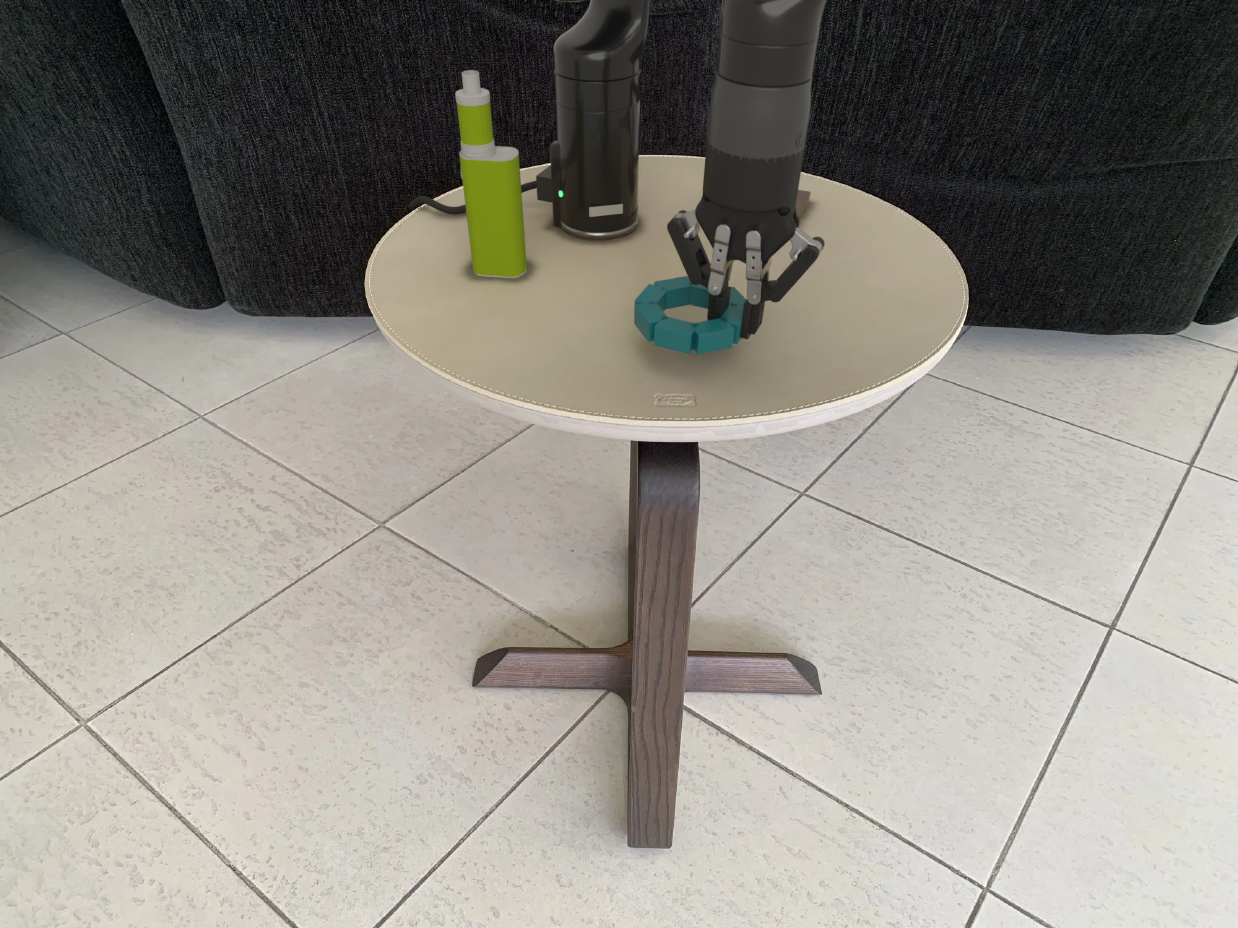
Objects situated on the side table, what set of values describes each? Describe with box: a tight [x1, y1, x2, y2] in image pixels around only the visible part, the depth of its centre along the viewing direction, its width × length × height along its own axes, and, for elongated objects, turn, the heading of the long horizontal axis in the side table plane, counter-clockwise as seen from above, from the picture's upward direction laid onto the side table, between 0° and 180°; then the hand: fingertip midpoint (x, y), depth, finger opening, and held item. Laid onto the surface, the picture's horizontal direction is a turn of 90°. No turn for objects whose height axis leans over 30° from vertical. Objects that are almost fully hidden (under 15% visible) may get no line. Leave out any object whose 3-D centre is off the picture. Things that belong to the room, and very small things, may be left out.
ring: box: [633, 275, 747, 356], centre depth 76 cm, size 10×10×2 cm
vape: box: [454, 69, 528, 279], centre depth 84 cm, size 4×6×20 cm, turn 82°
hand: (732, 330), depth 75 cm, fingers closed on ring, 2 cm apart
